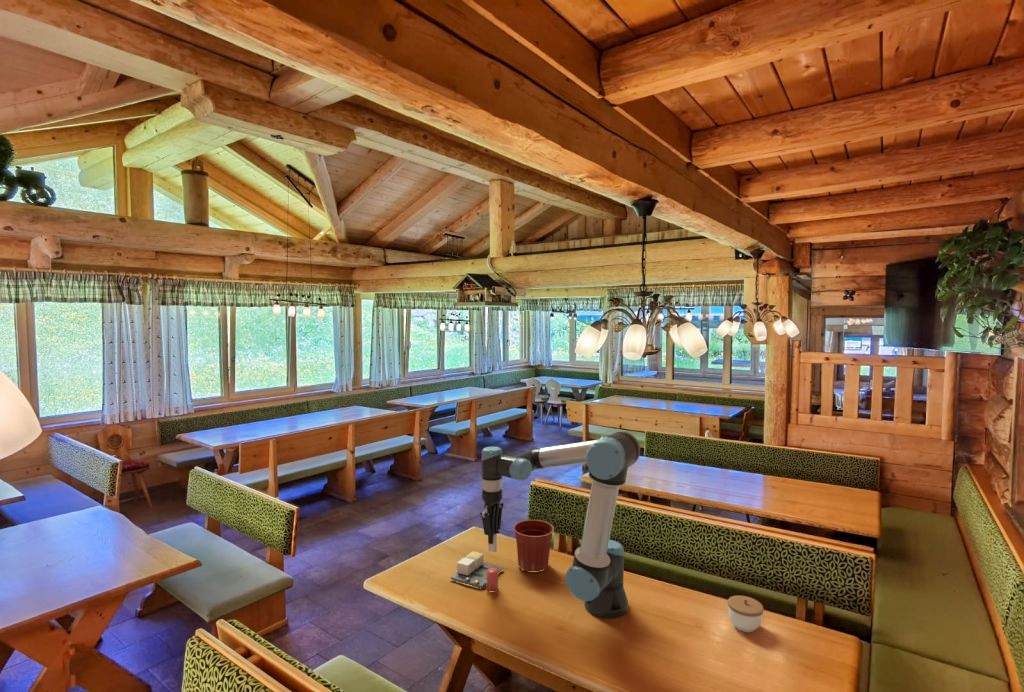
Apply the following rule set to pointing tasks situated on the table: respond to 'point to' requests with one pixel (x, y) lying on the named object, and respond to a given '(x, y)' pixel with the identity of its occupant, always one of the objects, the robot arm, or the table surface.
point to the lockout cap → (492, 579)
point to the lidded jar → (745, 613)
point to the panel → (476, 576)
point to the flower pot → (533, 544)
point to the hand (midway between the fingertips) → (492, 550)
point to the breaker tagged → (476, 558)
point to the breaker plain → (465, 566)
